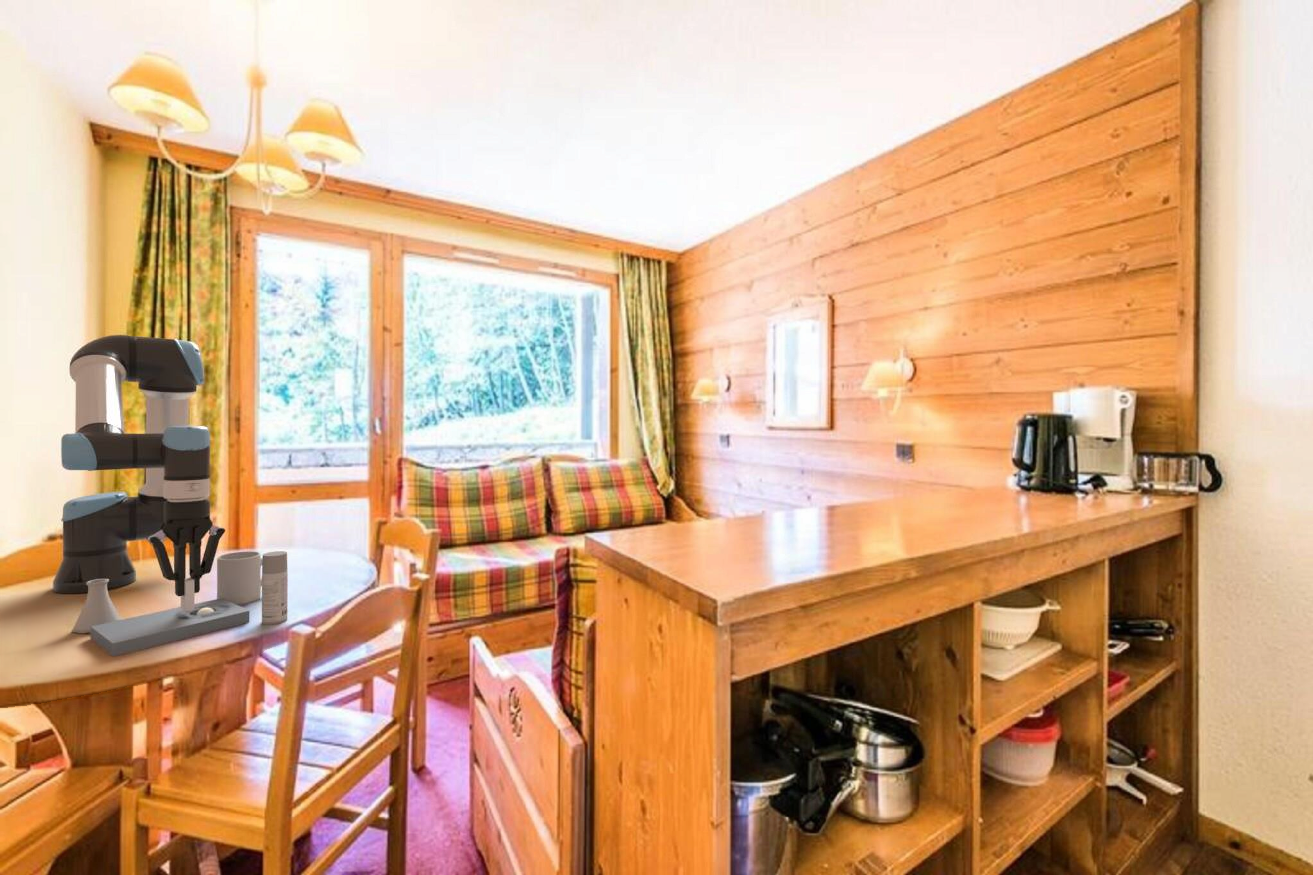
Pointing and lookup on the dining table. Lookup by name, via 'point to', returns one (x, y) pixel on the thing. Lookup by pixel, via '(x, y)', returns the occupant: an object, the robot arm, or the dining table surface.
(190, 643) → the dining table surface
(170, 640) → the plate
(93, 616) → the flask
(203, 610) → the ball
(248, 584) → the mug
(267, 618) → the container
